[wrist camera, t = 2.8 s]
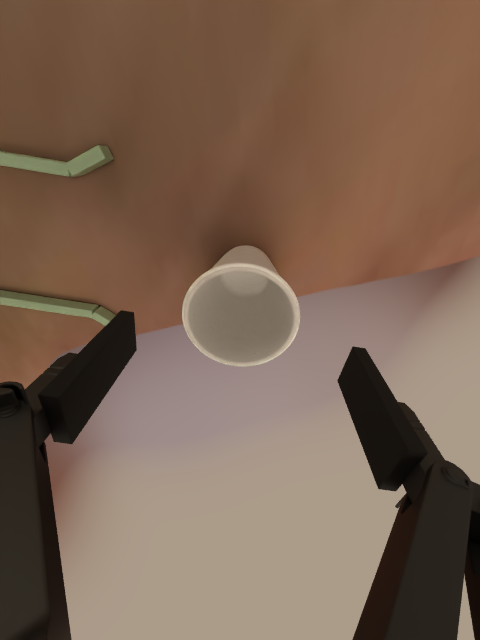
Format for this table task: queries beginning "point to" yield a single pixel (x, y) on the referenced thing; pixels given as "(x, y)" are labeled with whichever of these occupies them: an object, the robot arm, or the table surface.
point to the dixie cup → (241, 310)
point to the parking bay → (71, 169)
